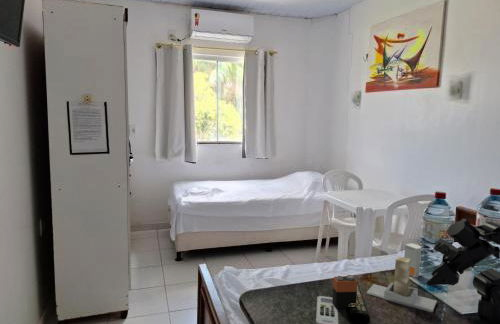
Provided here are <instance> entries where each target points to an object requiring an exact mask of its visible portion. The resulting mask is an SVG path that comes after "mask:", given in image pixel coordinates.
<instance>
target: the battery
mask: <svg viewBox="0 0 500 324" xmlns="http://www.w3.org/2000/svg"><path fill="white" fill-rule="evenodd" d="M357 290H358V281H357V280H356V279H355V277H354V275H351V274H347V275H346V276H343V275H342V276H341V275H338V276H334V277H333V280H332V299H331V300H332V304H333V306H334V308H336V309H348V308H347V306H348V304H350V303H356V304H357V294H358V292H357Z"/></svg>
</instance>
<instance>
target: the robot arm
mask: <svg viewBox="0 0 500 324" xmlns="http://www.w3.org/2000/svg"><path fill="white" fill-rule="evenodd" d="M446 232H447V234H448V236H449V237H450V238H452V239H453V240H454V241H455V242H456V243H458V244H459V245H460V246H458V247H456V246H455V245H453V244H451V243H450V242H448V241H446V240H445V239H443V238H442V237H440V238H439V239H438V240H437V242H436V243H435V245H434V246H433V248H432V249H433V250H434V251H436V252H438V253H440V254H441V255H442V258H441V259H442V260H441V261H442V262H441V263H439V265H438V266H437V267H436V268H434V270H433V271H432V272H430V273H431V278H429V279H428V280H427V281H426V285H427V286H442V285H443V286H452V287H453V286H455V285H457V284H459V281H460V275H463V274H464V272H465V271H467V270H468V269H470V268H475V267H476V266H477V264H479V263H480V262H481V261H484V260H485V259H487V258H488V257H491V256H493V257H494V258H495V259H498V260H499V259H500V247H499V246H500V223H499V222H494V221H486V222H485V223H484V224H481V225H476V226H473V225H472V223H471V222H470V221H469V220H468V219H466V218H462V219H461V220H458V221H456V222H454V223H452V224H450V225H449V227H448V229H447V231H446ZM490 242H491V243H494V244H496V245H499V246H496V245H493V244H491V243H490ZM478 272H479V273H477V274H475V275H474V277H473V278H472V285H473V288H474V289H476V293H477V294H478V295H480V299H478V304H477V312H476V313H477V316H478V320H480V321H483V322H487V323H491V324H500V272H499V271H498V270H496V269H495V268H488V269H486V270H483V271H482V270H480V271H478Z"/></svg>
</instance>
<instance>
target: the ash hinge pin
mask: <svg viewBox="0 0 500 324" xmlns="http://www.w3.org/2000/svg"><path fill="white" fill-rule="evenodd" d="M410 262H411V259H409V258H404V256H397V257H396V258H395V266H394V282H393V283H394V292H395V293H398V294H402V295H406V296H408V293H409V287H410V276H411V275H410Z"/></svg>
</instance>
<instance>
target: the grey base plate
mask: <svg viewBox="0 0 500 324" xmlns="http://www.w3.org/2000/svg"><path fill="white" fill-rule="evenodd" d="M418 291H419V288H416V287H411V286H409V293H408V296H406V295H402V294H398V293H395V292H394V282H392V281H391V282H390V283H389V284H388V286H387V287H386V286H383V285H380V284H379V285H378V284H375V283H373V284H372V285H371V287H370V288H369V289H368V290H367V291H366V295H369V296H373V297H376V298H380V299H383V300H385V301H388V302H391V303H396V304H399V305H402V306H406V307H410V308H415V309H418V310H422V311H425V312H429V313H433V312H434V310H435V308H436V306H437V300H436V299H432V298H428V297H424V296H420V295H418V293H419V292H418Z"/></svg>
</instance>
